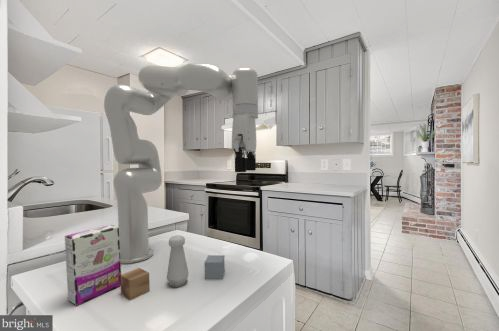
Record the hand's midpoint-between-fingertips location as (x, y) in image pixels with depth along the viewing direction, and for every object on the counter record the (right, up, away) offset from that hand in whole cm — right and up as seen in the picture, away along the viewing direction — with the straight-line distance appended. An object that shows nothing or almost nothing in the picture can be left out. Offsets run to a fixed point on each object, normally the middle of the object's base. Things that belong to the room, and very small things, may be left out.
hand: (246, 171), depth 71 cm
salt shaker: (-19, -31, -4) cm, 37 cm away
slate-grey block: (-9, -31, 0) cm, 32 cm away
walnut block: (-29, -31, -9) cm, 43 cm away
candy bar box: (-39, -32, -9) cm, 51 cm away
